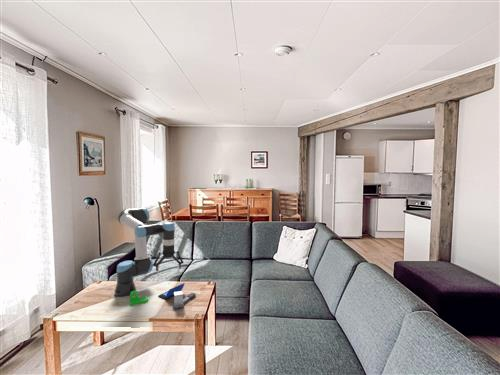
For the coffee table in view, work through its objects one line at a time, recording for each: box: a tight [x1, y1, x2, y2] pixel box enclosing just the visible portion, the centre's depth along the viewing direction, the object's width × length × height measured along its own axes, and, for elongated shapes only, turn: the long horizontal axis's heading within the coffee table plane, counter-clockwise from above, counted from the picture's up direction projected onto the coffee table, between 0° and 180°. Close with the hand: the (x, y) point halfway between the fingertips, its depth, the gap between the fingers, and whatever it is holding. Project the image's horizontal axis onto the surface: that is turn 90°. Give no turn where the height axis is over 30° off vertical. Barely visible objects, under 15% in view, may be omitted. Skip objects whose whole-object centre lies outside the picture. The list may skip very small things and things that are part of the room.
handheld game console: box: [158, 282, 185, 301], centre depth 208 cm, size 16×13×9 cm
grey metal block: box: [173, 290, 184, 305], centre depth 190 cm, size 6×6×7 cm
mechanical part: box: [129, 290, 149, 306], centre depth 198 cm, size 12×6×8 cm, turn 116°
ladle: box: [171, 292, 197, 311], centre depth 197 cm, size 8×22×6 cm, turn 156°
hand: (168, 274), depth 193 cm, fingers open, 13 cm apart
